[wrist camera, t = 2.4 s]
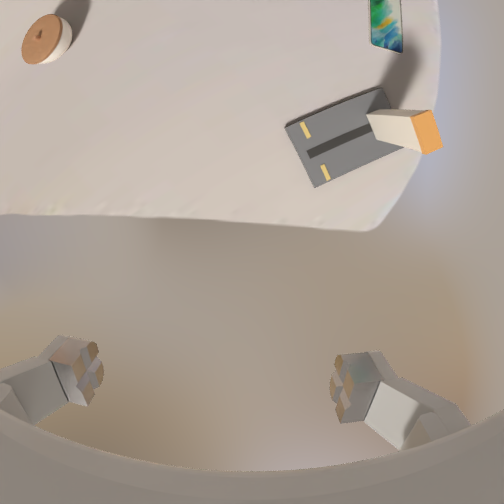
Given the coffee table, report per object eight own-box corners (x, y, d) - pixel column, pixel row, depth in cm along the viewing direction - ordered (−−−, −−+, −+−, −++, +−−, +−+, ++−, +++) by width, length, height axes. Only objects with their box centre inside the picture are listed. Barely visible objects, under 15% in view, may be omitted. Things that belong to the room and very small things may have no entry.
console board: (379, 88, 42) (382, 87, 41) (403, 146, 46) (405, 146, 45) (284, 127, 46) (285, 128, 45) (313, 186, 51) (314, 188, 50)
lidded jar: (37, 48, 35) (10, 44, 26) (69, 12, 32) (45, 3, 24) (53, 75, 39) (25, 74, 30) (88, 39, 36) (62, 30, 28)
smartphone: (400, -6, 31) (403, 55, 38) (398, -5, 32) (401, 55, 38) (367, -17, 31) (369, 44, 37) (366, -15, 31) (368, 45, 38)
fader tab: (379, 108, 42) (431, 110, 27) (390, 134, 44) (442, 146, 29) (365, 114, 43) (413, 116, 28) (376, 140, 45) (425, 154, 30)
